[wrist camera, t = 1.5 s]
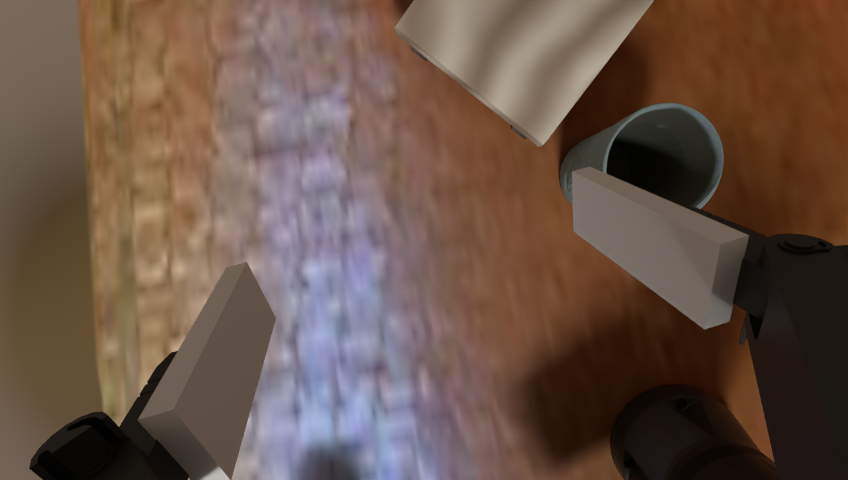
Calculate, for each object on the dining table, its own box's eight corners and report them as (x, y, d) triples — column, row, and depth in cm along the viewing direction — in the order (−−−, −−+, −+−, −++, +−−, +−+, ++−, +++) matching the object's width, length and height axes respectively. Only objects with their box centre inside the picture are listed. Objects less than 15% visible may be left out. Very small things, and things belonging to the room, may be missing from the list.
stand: (628, 17, 40) (664, -14, 34) (525, 151, 42) (543, 144, 36) (499, -93, 39) (514, -145, 33) (398, 51, 41) (395, 27, 35)
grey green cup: (549, 215, 43) (598, 223, 31) (555, 126, 42) (610, 99, 30) (635, 218, 43) (717, 227, 31) (644, 129, 42) (733, 103, 30)
